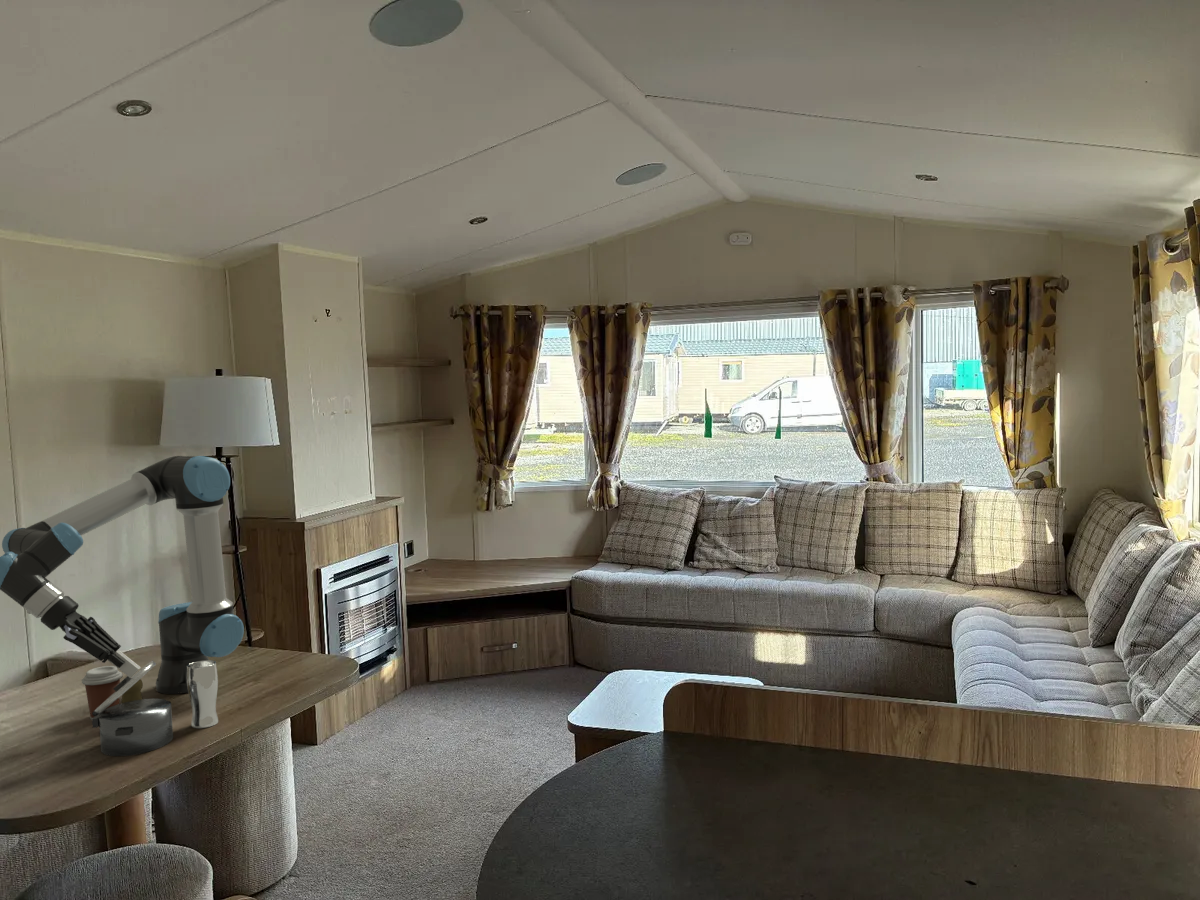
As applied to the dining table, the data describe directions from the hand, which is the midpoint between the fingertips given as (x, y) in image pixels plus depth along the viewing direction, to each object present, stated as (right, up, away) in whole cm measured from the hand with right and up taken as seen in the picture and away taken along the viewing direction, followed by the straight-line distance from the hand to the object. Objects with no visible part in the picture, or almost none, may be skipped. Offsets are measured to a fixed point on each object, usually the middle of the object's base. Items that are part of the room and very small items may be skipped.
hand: (135, 672), depth 209 cm
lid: (-2, -4, 0) cm, 4 cm away
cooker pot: (0, -17, +1) cm, 17 cm away
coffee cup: (-18, -16, +20) cm, 32 cm away
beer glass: (+11, -16, +12) cm, 23 cm away
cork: (-8, -16, +15) cm, 24 cm away
